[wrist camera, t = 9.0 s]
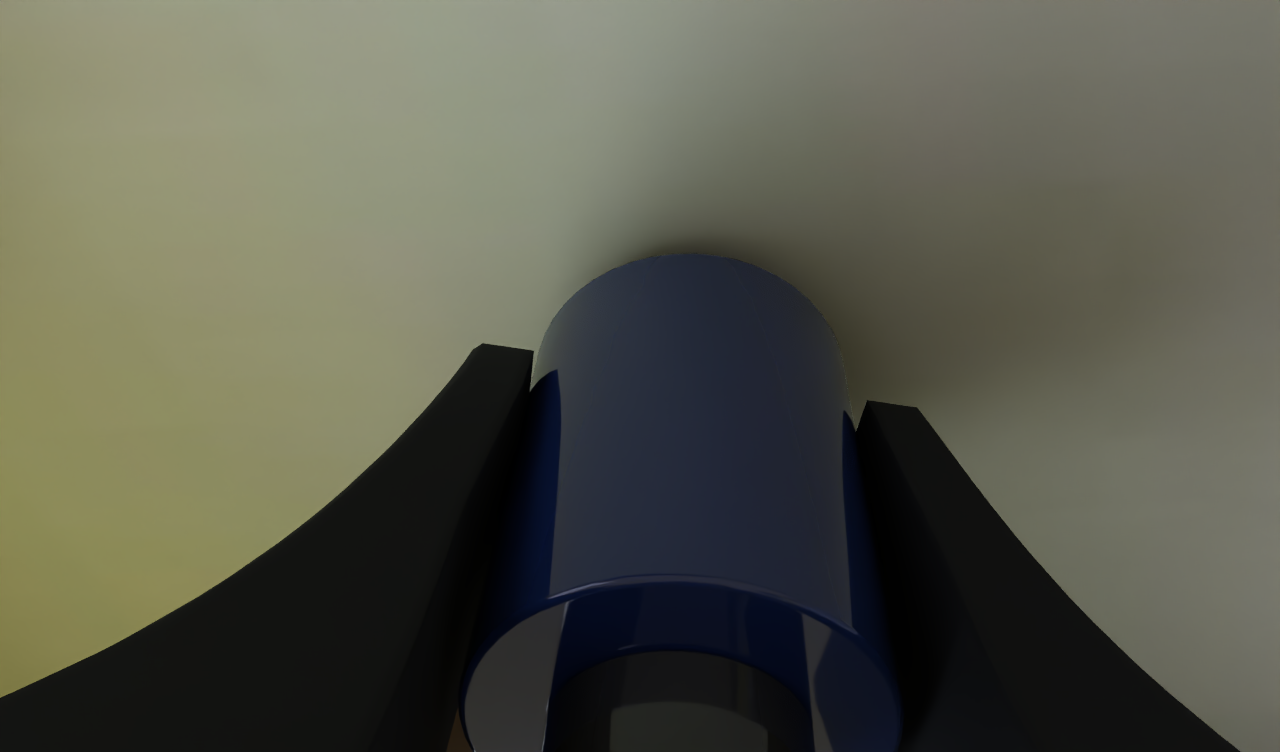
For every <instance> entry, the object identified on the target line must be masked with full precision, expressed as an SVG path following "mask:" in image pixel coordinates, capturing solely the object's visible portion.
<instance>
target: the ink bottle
mask: <svg viewBox="0 0 1280 752" xmlns="http://www.w3.org/2000/svg"><path fill="white" fill-rule="evenodd" d="M458 713H459V717H460V721H461V725H462V729H463V732H464V736H465V738H466V740H467V742H468V744H469V746H470V749H471V751H472V752H897V750H898V748H899V745H900V742H901V739H902V735H903V728H904V722H905V714H904V700H903V695H902V689H901V683H900V678H899V672H898V667H897V661H896V655H895V650H894V644H893V638H892V633H891V627H890V622H889V616H888V610H887V605H886V599H885V593H884V588H883V582H882V577H881V571H880V565H879V560H878V554H877V548H876V543H875V537H874V532H873V526H872V520H871V515H870V509H869V503H868V498H867V492H866V487H865V481H864V475H863V470H862V464H861V458H860V453H859V447H858V442H857V436H856V430H855V425H854V419H853V414H852V408H851V402H850V397H849V391H848V385H847V380H846V374H845V369H844V363H843V359H842V355H841V351H840V347H839V344H838V342H837V340H836V338H835V335H834V333H833V331H832V329H831V327H830V326H829V324H828V323H827V321H826V320H825V318H824V316H823V315H822V314H821V313H820V311H819V310H818V309H817V308H816V307H815V306H814V305H813V303H812V302H811V301H810V300H809V299H808V298H806V297H805V296H804V295H803V294H802V293H801V292H800V291H798V290H797V289H796V288H795V287H793V286H792V285H790V284H789V283H787V282H786V281H784V280H783V279H781V278H780V277H778V276H777V275H774V274H772V273H770V272H768V271H766V270H764V269H762V268H760V267H758V266H755V265H752V264H749V263H746V262H743V261H740V260H737V259H732V258H727V257H723V256H718V255H709V254H698V253H680V254H667V255H660V256H652V257H648V258H645V259H641V260H637V261H633V262H630V263H627V264H625V265H622V266H620V267H617V268H615V269H612V270H610V271H609V272H607V273H605V274H603V275H601V276H599V277H598V278H596V279H594V280H593V281H591V282H590V283H588V284H587V285H586V286H584V287H583V288H582V289H580V290H579V291H577V292H576V293H575V294H574V295H573V296H572V297H571V298H570V299H569V300H568V301H567V302H566V303H565V304H564V305H563V307H562V308H561V309H560V310H559V312H558V313H557V314H556V316H555V317H554V318H553V320H552V322H551V323H550V325H549V327H548V329H547V331H546V333H545V335H544V337H543V340H542V343H541V346H540V349H539V352H538V356H537V360H536V365H535V369H534V373H533V377H532V381H531V385H530V393H529V398H528V402H527V406H526V410H525V414H524V419H523V423H522V427H521V431H520V435H519V440H518V444H517V448H516V452H515V455H514V459H513V462H512V466H511V469H510V473H509V477H508V482H507V486H506V490H505V494H504V498H503V502H502V507H501V511H500V515H499V519H498V523H497V528H496V532H495V536H494V540H493V544H492V548H491V553H490V557H489V561H488V565H487V569H486V573H485V578H484V582H483V586H482V590H481V594H480V599H479V603H478V607H477V611H476V615H475V619H474V624H473V628H472V632H471V636H470V640H469V644H468V649H467V653H466V657H465V661H464V665H463V670H462V674H461V678H460V684H459V690H458Z"/></svg>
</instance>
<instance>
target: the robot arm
mask: <svg viewBox="0 0 1280 752" xmlns="http://www.w3.org/2000/svg"><path fill="white" fill-rule="evenodd" d="M533 353H534V351H532V350H525V349H518V348H511V347H504V346H498V345H491V344H484V343H483V344H481V345H480V346H478V347H476V348H475V349H473V350H472V352H471V353H470V355H469V356H468V358H467V359H466V360H465V362H464V363H463V364H462V366H461V367H460V368H459V370H458V371H457V372H456V374H455V375H454V376H453V377H452V379H451V380H450V381H449V382H448V384H447V385H446V386H445V387H444V388H443V390H442V391H441V392H440V393H439V394H438V395H437V397H436V398H435V399H434V400H433V401H432V402H431V404H430V405H429V406H428V407H427V408H426V409H425V410H424V411H423V413H422V414H421V415H420V416H419V417H418V418H417V419H416V420H415V421H414V422H413V423H412V424H411V425H410V426H409V427H408V429H407V430H406V431H405V432H404V433H403V434H402V435H401V436H400V437H399V438H398V439H397V440H396V441H395V442H394V443H393V444H392V445H391V446H390V447H389V448H388V449H387V450H386V451H385V452H384V453H383V454H382V455H381V456H380V457H379V458H378V459H377V460H376V461H375V462H374V463H373V464H372V465H370V466H369V467H368V468H367V469H366V470H365V471H364V472H363V473H362V474H361V475H360V476H359V477H358V478H357V479H355V480H354V481H353V482H352V483H351V484H350V485H349V486H348V487H347V488H346V489H345V490H344V491H342V492H341V493H340V494H339V495H338V496H337V497H335V498H334V499H333V500H332V501H331V502H330V503H328V504H327V505H326V506H325V507H324V508H322V509H321V510H320V511H319V512H318V513H316V514H315V515H314V516H313V517H311V518H310V519H309V520H308V521H306V522H305V523H304V524H302V525H301V526H300V527H299V528H297V529H296V530H295V531H293V532H292V533H291V534H289V535H288V536H287V537H286V538H284V539H283V540H282V541H280V542H279V543H278V544H276V545H275V546H273V547H272V548H270V549H269V550H268V551H266V552H265V553H263V554H262V555H260V556H259V557H258V558H256V559H255V560H253V561H252V562H250V563H249V564H247V565H246V566H245V567H243V568H242V569H240V570H239V571H237V572H236V573H235V574H233V575H232V576H230V577H229V578H227V579H225V580H224V581H222V582H221V583H219V584H218V585H216V586H215V587H213V588H212V589H210V590H208V591H207V592H205V593H204V594H202V595H200V596H199V597H197V598H195V599H194V600H192V601H190V602H188V603H187V604H185V605H183V606H181V607H180V608H178V609H176V610H174V611H173V612H171V613H169V614H167V615H166V616H164V617H162V618H160V619H159V620H157V621H155V622H153V623H152V624H150V625H148V626H146V627H145V628H143V629H141V630H139V631H138V632H136V633H134V634H132V635H131V636H129V637H127V638H125V639H123V640H122V641H120V642H118V643H116V644H114V645H112V646H110V647H108V648H106V649H104V650H102V651H100V652H98V653H96V654H94V655H92V656H90V657H88V658H86V659H84V660H81V661H79V662H77V663H75V664H73V665H71V666H69V667H66V668H64V669H62V670H60V671H58V672H56V673H54V674H51V675H49V676H47V677H45V678H43V679H41V680H39V681H36V682H34V683H32V684H30V685H28V686H26V687H23V688H21V689H19V690H17V691H15V692H13V693H10V694H8V695H6V696H3V697H1V698H0V752H446V751H447V747H448V742H449V739H450V735H451V731H452V728H453V724H454V720H455V716H456V713H457V709H458V690H459V684H460V678H461V674H462V670H463V665H464V661H465V657H466V653H467V649H468V644H469V640H470V636H471V632H472V628H473V624H474V619H475V615H476V611H477V607H478V603H479V599H480V594H481V590H482V586H483V582H484V578H485V573H486V569H487V565H488V561H489V557H490V553H491V548H492V544H493V540H494V536H495V532H496V528H497V523H498V519H499V515H500V511H501V507H502V502H503V498H504V494H505V490H506V486H507V482H508V477H509V473H510V469H511V466H512V462H513V459H514V455H515V452H516V448H517V444H518V440H519V435H520V431H521V427H522V423H523V419H524V414H525V410H526V406H527V402H528V398H529V393H530V384H531V374H532V363H533ZM856 436H857V442H858V447H859V453H860V458H861V464H862V470H863V475H864V481H865V487H866V492H867V498H868V503H869V509H870V515H871V520H872V526H873V532H874V537H875V543H876V548H877V554H878V560H879V565H880V571H881V577H882V582H883V588H884V593H885V599H886V605H887V610H888V616H889V622H890V627H891V633H892V638H893V644H894V650H895V655H896V661H897V667H898V672H899V678H900V683H901V689H902V695H903V700H904V714H905V722H904V728H903V735H902V739H901V742H900V745H899V748H898V750H897V752H1240V751H1239V750H1238V749H1237V748H1235V747H1234V746H1233V745H1231V744H1230V743H1229V742H1228V741H1226V740H1225V739H1224V738H1222V737H1221V736H1220V735H1219V734H1217V733H1216V732H1215V731H1214V730H1213V729H1211V728H1210V727H1209V726H1208V725H1207V724H1205V723H1204V722H1203V721H1202V720H1201V719H1200V718H1198V717H1197V716H1196V715H1195V714H1194V713H1192V712H1191V711H1190V710H1189V709H1188V708H1186V707H1185V706H1184V705H1183V704H1182V703H1180V702H1179V701H1178V700H1177V699H1176V698H1174V697H1173V696H1172V695H1171V694H1170V693H1168V692H1167V691H1166V690H1165V689H1164V688H1163V687H1162V686H1160V685H1159V684H1158V683H1157V682H1156V681H1155V680H1154V679H1153V678H1152V677H1150V676H1149V675H1148V674H1147V673H1146V672H1145V671H1144V670H1143V669H1141V668H1140V667H1139V666H1138V665H1137V664H1136V663H1135V662H1134V661H1133V660H1132V659H1131V658H1130V657H1129V656H1128V655H1127V654H1126V653H1125V652H1124V651H1123V650H1122V649H1120V648H1119V647H1118V646H1117V645H1116V644H1115V643H1114V642H1113V641H1112V640H1111V639H1110V638H1109V637H1108V636H1107V635H1106V634H1105V633H1104V632H1103V631H1102V630H1101V629H1100V628H1099V627H1098V626H1097V625H1096V624H1095V623H1094V622H1093V621H1092V620H1091V619H1090V618H1089V617H1088V616H1087V615H1086V614H1085V613H1084V612H1083V611H1082V610H1081V609H1080V608H1079V607H1078V606H1077V605H1076V604H1075V603H1074V602H1073V601H1072V600H1071V599H1070V598H1069V596H1068V595H1067V594H1066V593H1065V592H1064V591H1063V590H1062V589H1061V587H1060V586H1059V585H1058V584H1057V583H1056V582H1055V581H1054V580H1053V579H1052V577H1051V576H1050V575H1049V574H1048V573H1047V572H1046V571H1045V570H1044V569H1043V567H1042V566H1041V565H1040V564H1039V563H1038V562H1037V561H1036V560H1035V558H1034V557H1033V556H1032V555H1031V554H1030V553H1029V551H1028V550H1027V549H1026V548H1025V547H1024V545H1023V544H1022V543H1021V542H1020V541H1019V539H1018V538H1017V537H1016V536H1015V535H1014V533H1013V532H1012V531H1011V530H1010V529H1009V527H1008V526H1007V525H1006V524H1005V522H1004V521H1003V520H1002V519H1001V517H1000V516H999V515H998V514H997V512H996V511H995V510H994V509H993V507H992V506H991V505H990V503H989V502H988V501H987V500H986V498H985V497H984V496H983V494H982V493H981V492H980V491H979V489H978V488H977V487H976V485H975V484H974V483H973V481H972V480H971V479H970V477H969V476H968V475H967V473H966V472H965V471H964V469H963V468H962V467H961V465H960V464H959V463H958V461H957V460H956V459H955V457H954V456H953V455H952V453H951V452H950V451H949V449H948V448H947V447H946V445H945V444H944V442H943V441H942V440H941V438H940V437H939V436H938V434H937V433H936V432H935V430H934V429H933V428H932V426H931V425H930V424H929V422H928V421H927V420H926V418H925V417H924V416H923V415H922V413H921V412H920V411H919V409H918V408H917V407H910V406H903V405H897V404H890V403H883V402H876V401H869V400H867V402H866V405H865V408H864V410H863V413H862V416H861V419H860V422H859V425H858V428H857V430H856Z"/></svg>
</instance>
